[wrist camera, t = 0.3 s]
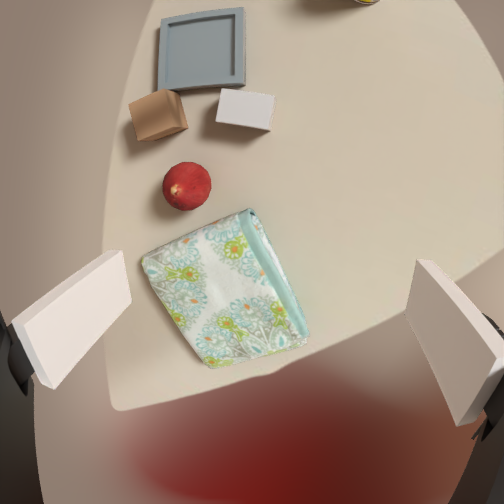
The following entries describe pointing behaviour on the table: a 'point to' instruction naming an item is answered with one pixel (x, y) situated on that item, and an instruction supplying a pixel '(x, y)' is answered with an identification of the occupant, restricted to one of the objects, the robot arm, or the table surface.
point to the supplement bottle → (367, 1)
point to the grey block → (246, 109)
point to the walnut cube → (158, 115)
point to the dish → (203, 50)
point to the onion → (186, 186)
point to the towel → (228, 292)
